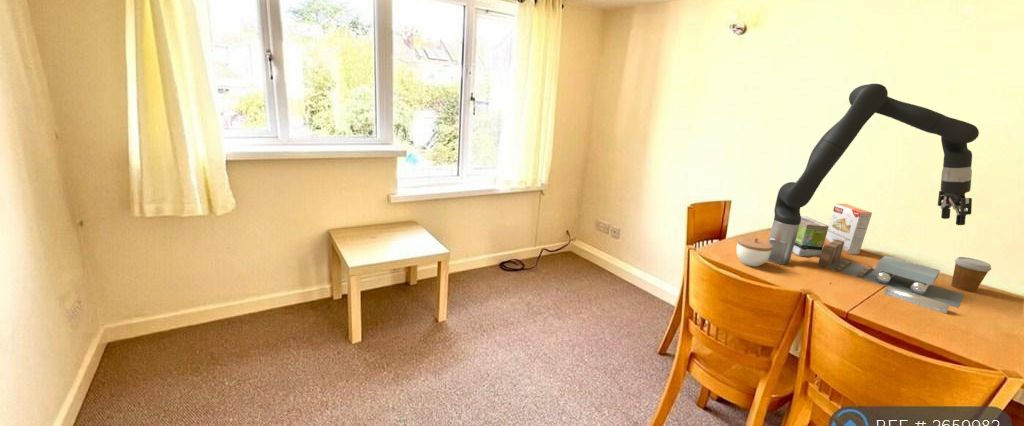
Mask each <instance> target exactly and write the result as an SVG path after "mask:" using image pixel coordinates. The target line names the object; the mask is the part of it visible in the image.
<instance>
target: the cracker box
mask: <svg viewBox="0 0 1024 426" xmlns="http://www.w3.org/2000/svg"><path fill="white" fill-rule="evenodd" d="M872 214H873V212H871V211H868V210H865V209H862V208H860V207H857V206H853V205H850V204H847V203H835V204H834V207H833V210H832V214H831V217H830V220H829V224H828V226H829V228H828V231H827V234H826V238H825V241H824V245H823V246H826V245H827V244H829V243H831V242H833V241H834V240H836V239H837V240H841V241H845V242H844V246H843V249H842V252H841V253H845V254H846V255H858V256H859V254H860V252H861V250H862V249H861V248H862V246H863V243H864V241H865V236H866V234H867V230H868V227H869V224H870V221H871V218H872Z"/></svg>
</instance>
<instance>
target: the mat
mask: <svg viewBox="0 0 1024 426" xmlns="http://www.w3.org/2000/svg"><path fill="white" fill-rule="evenodd" d="M845 261H846V259H841V258H839V259H838V260H837V261H836V262H834V263H833V264H831V265H830V266H828V267H827V269H829V270H832V271H836V272H839V273H842V274H845V275H849V276H851V277H855V278H858V279H862V280H865V281H867V282H868V281H869V282H872V283H875V284H878V285H880V286H884V287H887V286H891V287H894V288H897V289H901V290H904V291H907V292H910V293H912V292H911V290H910V287H911V285H912V284H913V283H914V281H915V280H912V279H908V278H905V277H901V276H898V275H894V277H893V278H892V279H891V280H890V281H889V282H888V283H886V284H880V283H878V282H877V281H876V279H875V277H876V275H877V274H878V273H879V272H880V270H877V269H876V268H873V267H872V269H871V270H870V271H869V272H868V273H867V274H866V275H864V276H863V277H862V278H861V277H857V275H858V273H860V272H861V271H862V270H863V269H864V268H866V267H867V266H865V265H862V264H859V263H856V262H853V261H852V262H851V263H850V264H849V265H848V266H846V267H845V268H844V269H842V270H841V271H838V270H836V267H838V266H839V265H841V264H842V263H843V262H845ZM920 296H924V297H927V298H930V299H934V300H937V301H940V302H943V303H947V304H950V306H949V307H953V308H957V309H959V307H960V305H961V303H962V300H963V299H964V296H965V294H963V293H961V292H958V291H953V290H950V289H947V288H943V287H939V286H935V285H934V284H933V285H929V287H928V288H927V290H926V291H925V293H923V294H921V295H920Z"/></svg>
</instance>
